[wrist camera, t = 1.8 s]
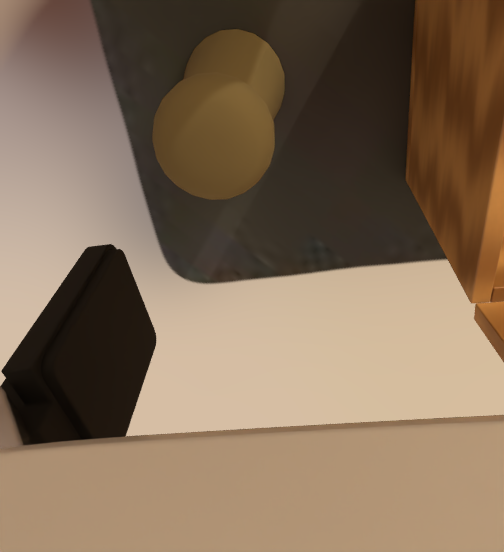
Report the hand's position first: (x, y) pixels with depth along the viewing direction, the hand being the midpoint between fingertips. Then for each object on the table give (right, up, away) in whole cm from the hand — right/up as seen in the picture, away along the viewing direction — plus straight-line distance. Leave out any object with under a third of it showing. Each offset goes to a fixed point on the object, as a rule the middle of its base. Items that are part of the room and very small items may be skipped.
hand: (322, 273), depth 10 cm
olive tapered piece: (-3, +11, +16) cm, 20 cm away
